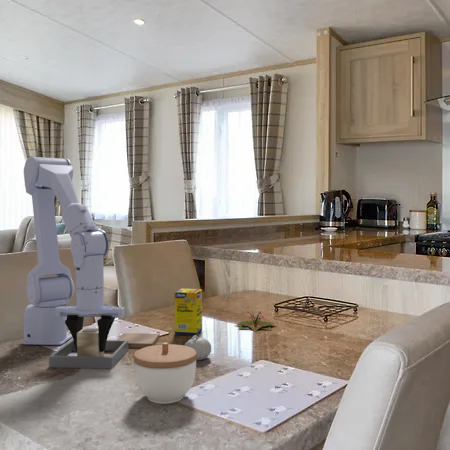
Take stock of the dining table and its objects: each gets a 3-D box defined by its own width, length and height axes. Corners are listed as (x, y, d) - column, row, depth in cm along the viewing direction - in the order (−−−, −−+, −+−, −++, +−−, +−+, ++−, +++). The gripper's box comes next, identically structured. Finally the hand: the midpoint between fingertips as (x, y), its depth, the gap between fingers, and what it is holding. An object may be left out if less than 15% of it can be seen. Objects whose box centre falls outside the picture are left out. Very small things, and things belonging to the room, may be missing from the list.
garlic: (190, 364, 107) (190, 339, 106) (180, 357, 111) (180, 333, 111) (216, 360, 109) (216, 336, 109) (205, 353, 114) (205, 330, 114)
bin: (49, 367, 105) (49, 356, 105) (72, 349, 118) (72, 339, 118) (112, 368, 104) (112, 357, 104) (128, 350, 117) (128, 340, 117)
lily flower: (277, 323, 145) (277, 307, 145) (278, 334, 133) (278, 316, 133) (234, 322, 146) (234, 306, 146) (231, 333, 134) (231, 315, 134)
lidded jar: (136, 387, 94) (136, 335, 93) (196, 385, 94) (195, 334, 94) (131, 410, 83) (130, 353, 82) (197, 408, 84) (197, 351, 83)
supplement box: (197, 336, 129) (196, 292, 129) (174, 335, 130) (173, 291, 130) (202, 330, 135) (202, 288, 135) (180, 329, 136) (180, 288, 136)
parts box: (77, 361, 109) (76, 332, 109) (84, 355, 113) (83, 327, 113) (97, 361, 109) (97, 332, 108) (104, 355, 113) (103, 327, 113)
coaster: (113, 347, 119) (113, 343, 119) (123, 337, 128) (123, 333, 128) (152, 347, 119) (152, 343, 119) (159, 337, 128) (159, 333, 128)
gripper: (49, 290, 107) (50, 355, 107) (118, 290, 106) (119, 356, 106) (62, 284, 114) (63, 345, 114) (127, 285, 113) (127, 346, 113)
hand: (90, 350), depth 111 cm, fingers closed on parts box, 4 cm apart
